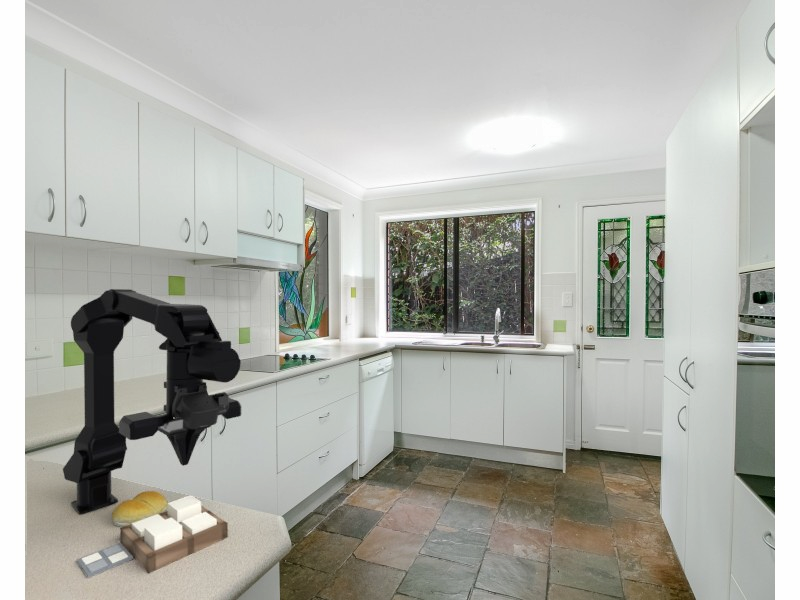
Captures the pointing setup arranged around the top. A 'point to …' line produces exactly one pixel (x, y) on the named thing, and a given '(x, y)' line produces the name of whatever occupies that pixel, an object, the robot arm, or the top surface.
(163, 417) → the robot arm
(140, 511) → the bread roll
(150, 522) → the button
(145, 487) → the top surface
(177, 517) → the button
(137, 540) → the brown flat square grid
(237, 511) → the top surface
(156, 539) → the button
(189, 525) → the button
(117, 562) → the pattern card
